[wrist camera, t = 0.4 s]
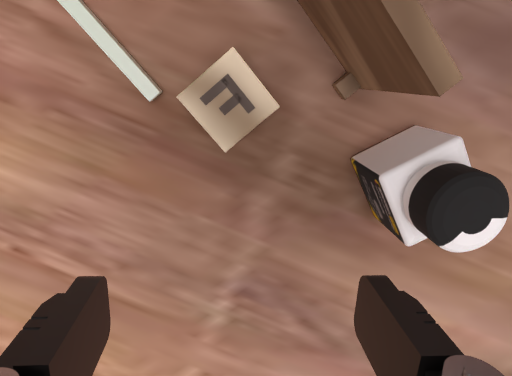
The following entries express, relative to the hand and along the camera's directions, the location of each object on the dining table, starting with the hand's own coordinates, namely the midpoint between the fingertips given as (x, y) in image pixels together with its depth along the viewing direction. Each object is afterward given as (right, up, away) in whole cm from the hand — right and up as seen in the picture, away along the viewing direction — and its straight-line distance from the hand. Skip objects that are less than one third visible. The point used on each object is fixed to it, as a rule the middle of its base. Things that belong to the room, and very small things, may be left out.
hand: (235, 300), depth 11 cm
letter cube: (-2, +12, +21) cm, 24 cm away
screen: (+6, +18, +20) cm, 27 cm away
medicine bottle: (+14, +5, +25) cm, 29 cm away
